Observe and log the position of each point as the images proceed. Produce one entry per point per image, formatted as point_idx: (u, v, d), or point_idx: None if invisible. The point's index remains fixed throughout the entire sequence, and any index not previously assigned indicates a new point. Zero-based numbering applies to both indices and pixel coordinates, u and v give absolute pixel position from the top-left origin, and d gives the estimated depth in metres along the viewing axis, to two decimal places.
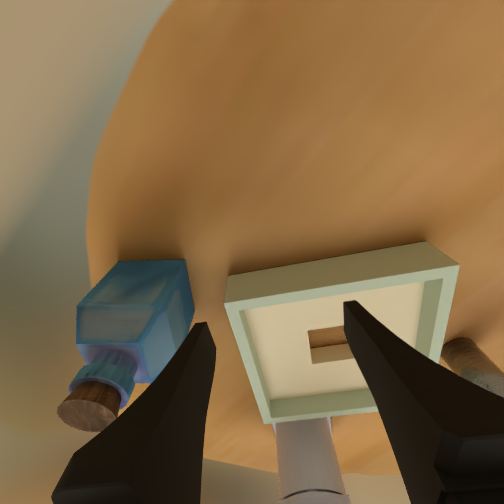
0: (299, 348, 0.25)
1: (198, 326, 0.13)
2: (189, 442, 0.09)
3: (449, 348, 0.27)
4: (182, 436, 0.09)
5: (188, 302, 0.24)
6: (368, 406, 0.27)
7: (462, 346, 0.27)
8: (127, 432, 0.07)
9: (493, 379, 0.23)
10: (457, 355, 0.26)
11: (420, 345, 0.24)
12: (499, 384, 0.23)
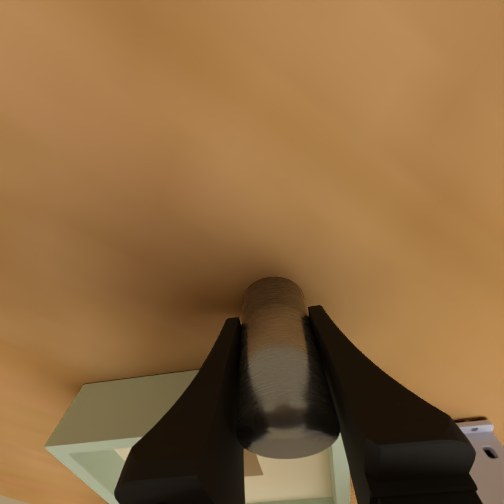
0: None
1: (232, 321, 0.12)
2: (234, 437, 0.09)
3: None
4: (229, 431, 0.09)
5: None
6: None
7: None
8: (182, 426, 0.07)
9: None
10: None
11: None
12: None
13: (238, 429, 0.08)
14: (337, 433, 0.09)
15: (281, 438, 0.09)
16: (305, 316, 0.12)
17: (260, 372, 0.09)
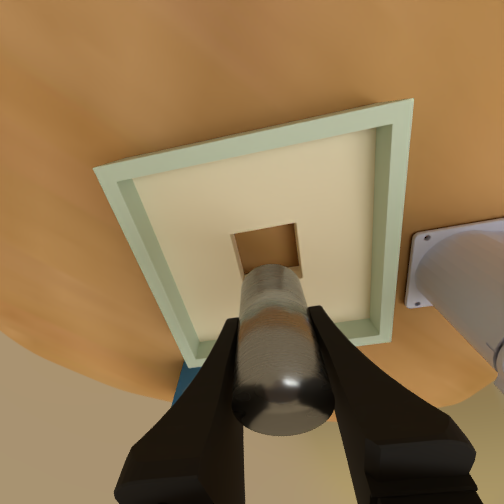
0: None
1: (232, 321, 0.12)
2: (234, 437, 0.09)
3: None
4: (229, 431, 0.09)
5: None
6: (387, 215, 0.16)
7: None
8: (182, 426, 0.07)
9: None
10: None
11: None
12: None
13: (236, 395, 0.08)
14: (330, 412, 0.09)
15: (274, 410, 0.09)
16: (305, 304, 0.12)
17: (265, 343, 0.09)
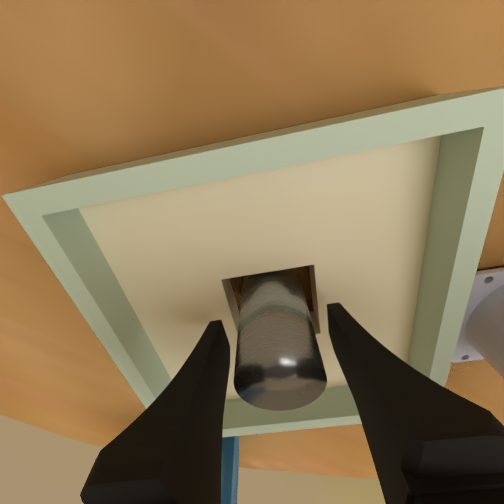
0: None
1: (214, 324, 0.12)
2: (210, 440, 0.09)
3: None
4: (204, 434, 0.09)
5: None
6: (453, 262, 0.11)
7: None
8: (153, 429, 0.07)
9: None
10: None
11: None
12: None
13: (238, 373, 0.09)
14: (322, 389, 0.10)
15: (272, 387, 0.10)
16: (302, 293, 0.13)
17: (264, 327, 0.10)
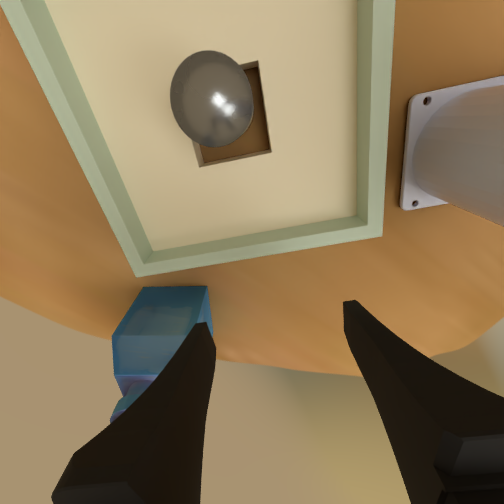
0: (235, 177, 0.17)
1: (199, 326, 0.13)
2: (189, 442, 0.09)
3: None
4: (182, 436, 0.09)
5: (181, 294, 0.23)
6: (373, 19, 0.12)
7: None
8: (127, 432, 0.07)
9: None
10: None
11: None
12: None
13: (173, 85, 0.11)
14: (250, 110, 0.11)
15: (205, 108, 0.11)
16: None
17: None
